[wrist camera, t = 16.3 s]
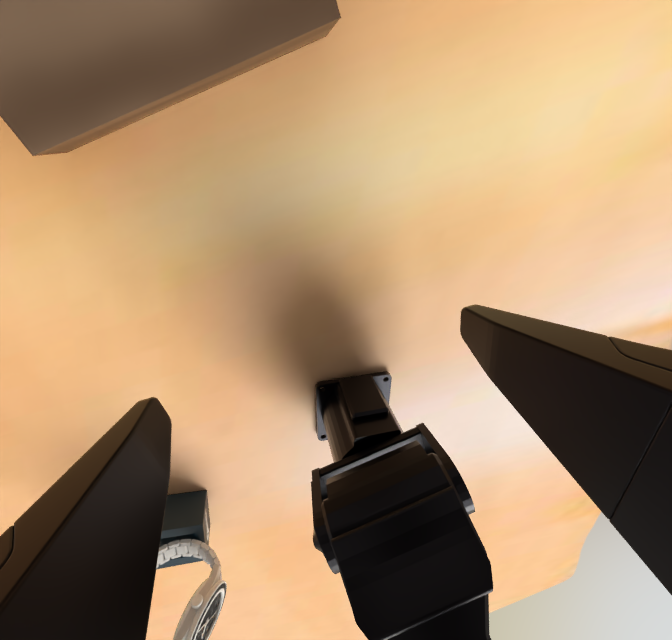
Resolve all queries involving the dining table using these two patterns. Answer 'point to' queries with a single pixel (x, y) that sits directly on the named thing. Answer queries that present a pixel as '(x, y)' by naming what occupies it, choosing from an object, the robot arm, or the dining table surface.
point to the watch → (192, 546)
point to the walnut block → (133, 58)
